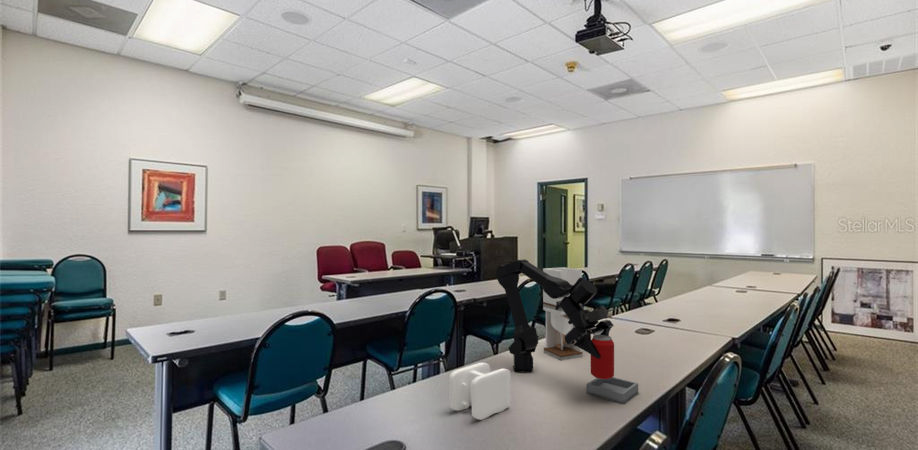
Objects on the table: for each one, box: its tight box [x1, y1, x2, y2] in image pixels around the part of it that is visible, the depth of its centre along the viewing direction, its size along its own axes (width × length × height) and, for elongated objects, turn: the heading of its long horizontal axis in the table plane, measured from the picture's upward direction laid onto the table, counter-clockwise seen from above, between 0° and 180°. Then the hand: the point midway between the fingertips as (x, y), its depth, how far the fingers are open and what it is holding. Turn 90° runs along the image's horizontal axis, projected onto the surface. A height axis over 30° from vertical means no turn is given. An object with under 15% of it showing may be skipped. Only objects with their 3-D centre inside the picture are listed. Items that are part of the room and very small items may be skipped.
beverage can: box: [590, 335, 615, 380], centre depth 126 cm, size 7×7×12 cm
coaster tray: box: [585, 376, 639, 405], centre depth 130 cm, size 12×12×3 cm
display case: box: [542, 267, 583, 361], centre depth 170 cm, size 11×11×35 cm
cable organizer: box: [448, 361, 511, 421], centre depth 119 cm, size 15×11×12 cm
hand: (606, 355), depth 125 cm, fingers closed on beverage can, 7 cm apart
